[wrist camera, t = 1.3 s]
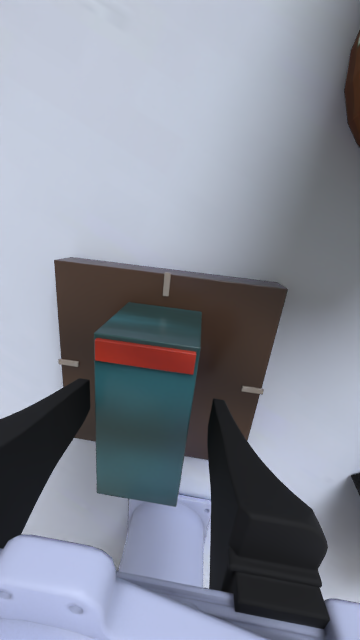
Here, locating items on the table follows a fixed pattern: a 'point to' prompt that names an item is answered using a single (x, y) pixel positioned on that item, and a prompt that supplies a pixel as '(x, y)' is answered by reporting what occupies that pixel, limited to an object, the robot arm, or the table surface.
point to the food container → (353, 90)
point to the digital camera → (356, 481)
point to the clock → (182, 293)
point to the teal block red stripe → (144, 400)
